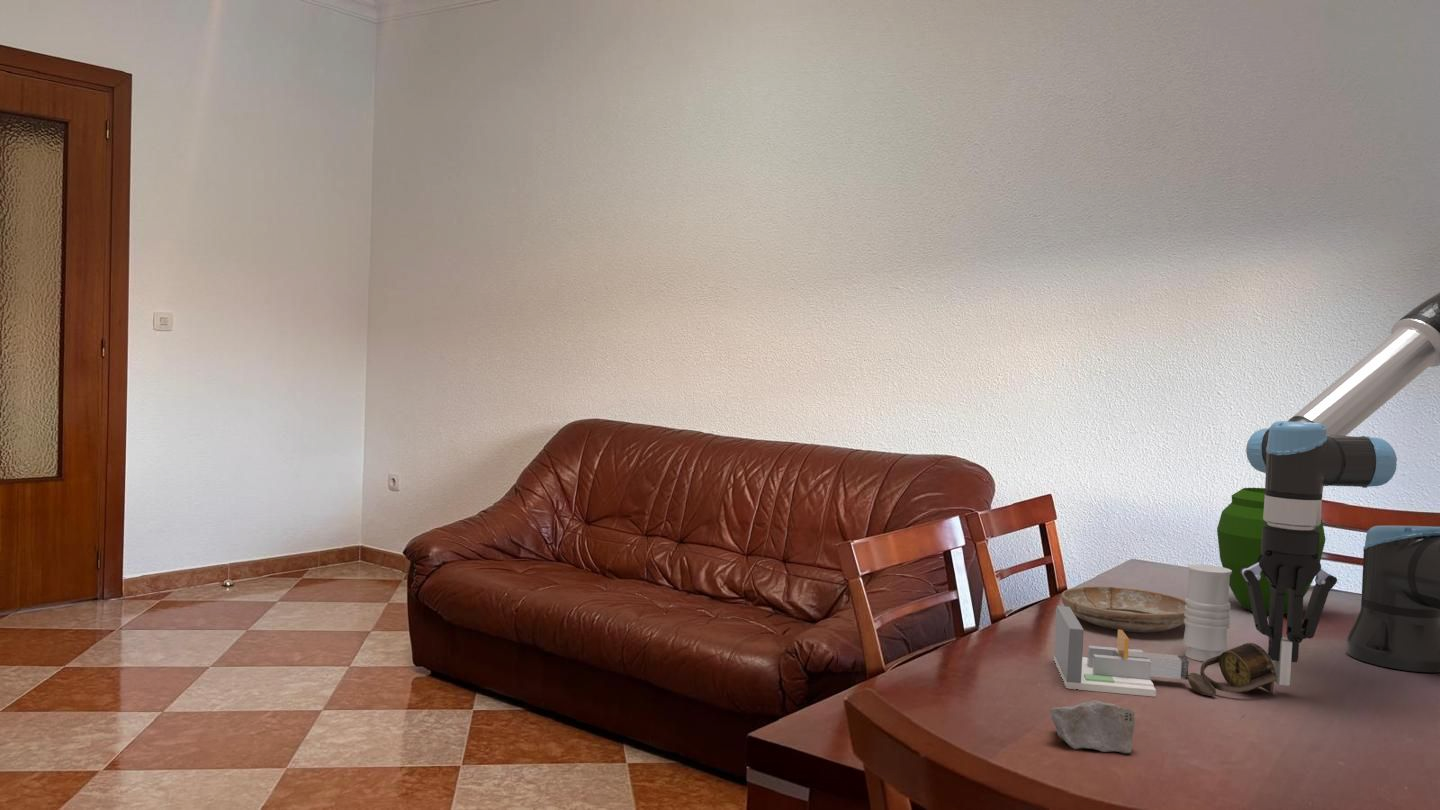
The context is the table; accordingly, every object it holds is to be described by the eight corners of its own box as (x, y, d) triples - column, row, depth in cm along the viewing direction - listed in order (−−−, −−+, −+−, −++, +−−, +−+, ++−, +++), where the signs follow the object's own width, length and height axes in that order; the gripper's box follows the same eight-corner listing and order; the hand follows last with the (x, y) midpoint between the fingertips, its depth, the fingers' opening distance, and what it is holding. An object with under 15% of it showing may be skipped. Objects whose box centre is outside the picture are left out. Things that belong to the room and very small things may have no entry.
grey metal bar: (1182, 673, 161) (1185, 634, 160) (1192, 685, 155) (1194, 644, 155) (1114, 667, 163) (1116, 628, 162) (1121, 678, 157) (1123, 638, 157)
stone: (1053, 727, 139) (1056, 683, 138) (1133, 741, 135) (1136, 696, 135) (1047, 746, 131) (1050, 700, 131) (1132, 762, 127) (1135, 714, 127)
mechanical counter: (1296, 669, 151) (1267, 636, 161) (1206, 656, 152) (1182, 624, 161) (1283, 713, 153) (1255, 678, 163) (1194, 699, 154) (1172, 665, 163)
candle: (1234, 664, 172) (1240, 573, 171) (1191, 662, 172) (1196, 571, 172) (1217, 652, 179) (1222, 565, 178) (1175, 650, 179) (1180, 563, 178)
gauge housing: (1135, 667, 168) (1138, 612, 167) (1155, 696, 153) (1159, 635, 153) (1053, 660, 170) (1056, 605, 170) (1066, 688, 155) (1069, 628, 155)
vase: (1323, 609, 216) (1330, 491, 215) (1317, 628, 199) (1326, 500, 198) (1219, 595, 226) (1225, 482, 225) (1205, 611, 210) (1213, 490, 209)
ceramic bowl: (1162, 612, 208) (1164, 587, 208) (1215, 644, 185) (1216, 616, 185) (1045, 607, 209) (1046, 582, 209) (1082, 638, 185) (1084, 610, 185)
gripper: (1328, 524, 158) (1318, 679, 159) (1236, 519, 160) (1227, 671, 161) (1349, 532, 151) (1338, 694, 152) (1252, 526, 153) (1242, 685, 154)
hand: (1281, 682), depth 156 cm, fingers closed
